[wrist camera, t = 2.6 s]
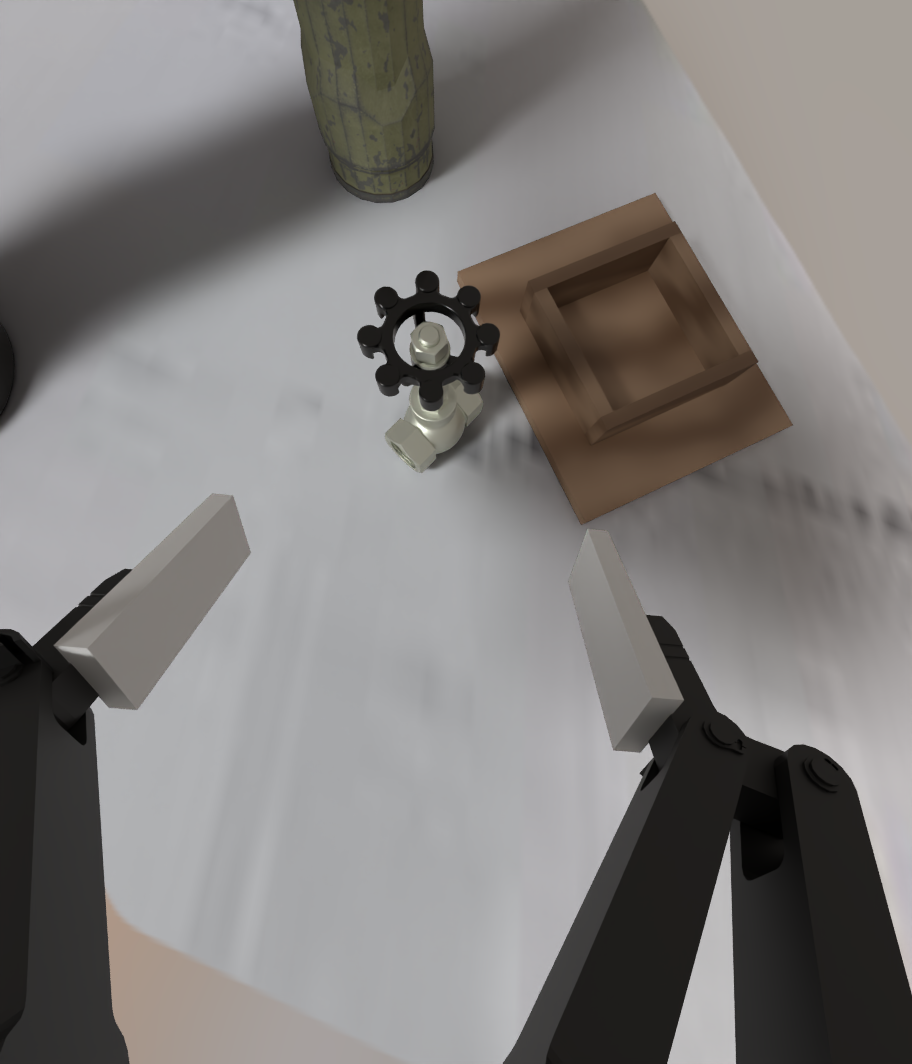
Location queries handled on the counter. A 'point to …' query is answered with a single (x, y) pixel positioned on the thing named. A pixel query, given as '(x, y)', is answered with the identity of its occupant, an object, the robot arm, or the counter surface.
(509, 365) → the dock board
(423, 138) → the thermos
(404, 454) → the valve
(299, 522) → the counter surface
